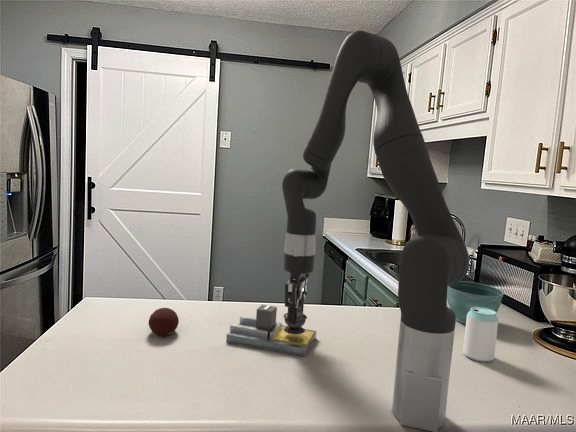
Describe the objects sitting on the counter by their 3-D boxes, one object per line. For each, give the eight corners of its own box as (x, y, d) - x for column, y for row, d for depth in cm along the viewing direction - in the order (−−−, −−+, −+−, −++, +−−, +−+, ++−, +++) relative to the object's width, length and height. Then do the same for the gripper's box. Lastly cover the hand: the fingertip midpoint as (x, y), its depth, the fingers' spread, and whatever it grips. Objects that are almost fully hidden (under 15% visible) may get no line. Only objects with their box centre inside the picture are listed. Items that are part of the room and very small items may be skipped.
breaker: (270, 335, 103) (271, 310, 102) (255, 332, 104) (256, 308, 104) (275, 329, 107) (276, 306, 106) (260, 326, 108) (262, 303, 107)
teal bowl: (511, 329, 125) (516, 294, 124) (470, 333, 119) (475, 297, 118) (470, 311, 140) (473, 280, 139) (432, 314, 134) (435, 282, 133)
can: (475, 364, 99) (481, 315, 98) (456, 351, 106) (461, 306, 104) (500, 362, 101) (506, 314, 99) (479, 350, 107) (484, 305, 106)
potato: (145, 340, 100) (146, 315, 100) (151, 325, 110) (152, 302, 110) (176, 340, 102) (177, 316, 101) (180, 325, 111) (180, 302, 111)
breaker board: (304, 356, 97) (305, 342, 96) (225, 342, 102) (226, 328, 102) (315, 338, 108) (316, 325, 108) (244, 325, 114) (244, 313, 113)
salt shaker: (278, 331, 102) (281, 283, 101) (289, 324, 107) (292, 278, 106) (299, 336, 99) (303, 287, 98) (310, 329, 105) (313, 282, 103)
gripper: (292, 245, 109) (288, 307, 111) (276, 254, 95) (271, 325, 97) (320, 248, 107) (316, 311, 109) (307, 258, 93) (302, 330, 95)
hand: (295, 318), depth 103 cm, fingers closed on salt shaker, 5 cm apart
